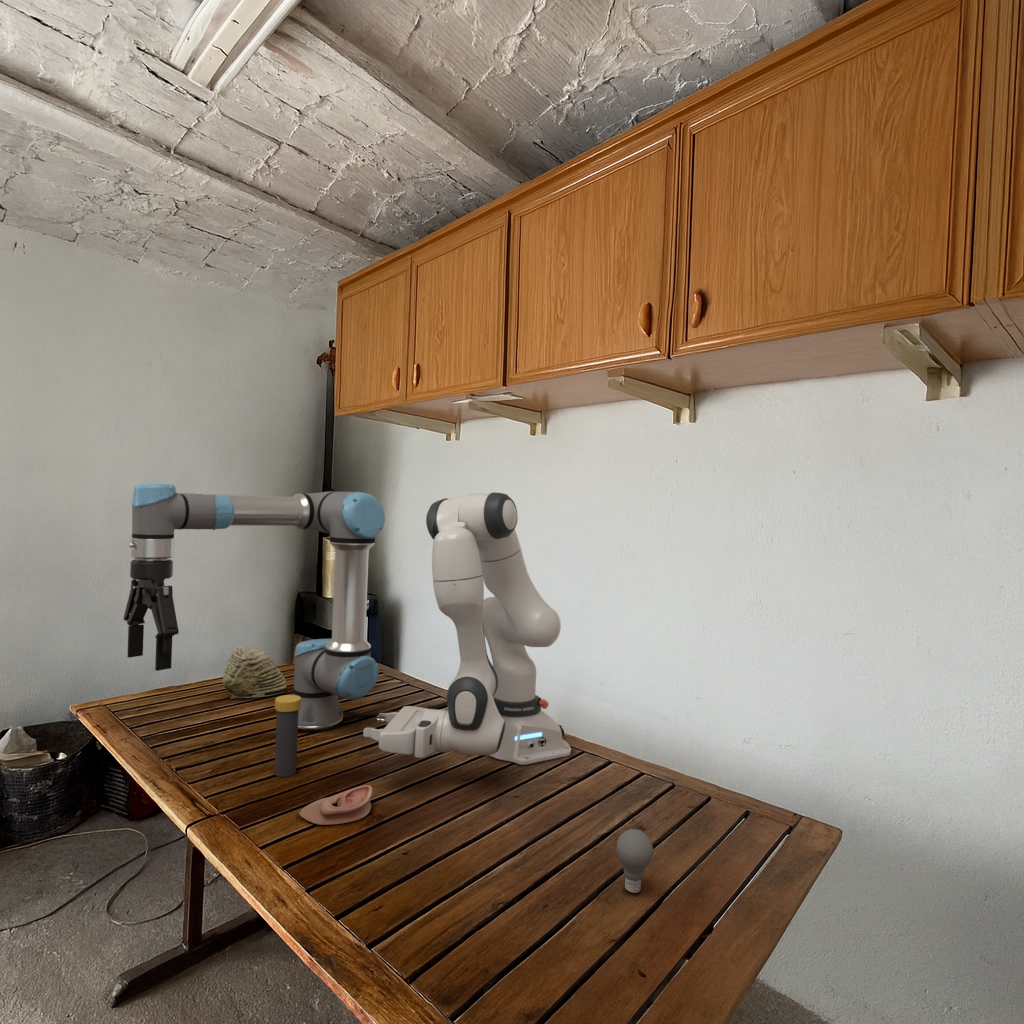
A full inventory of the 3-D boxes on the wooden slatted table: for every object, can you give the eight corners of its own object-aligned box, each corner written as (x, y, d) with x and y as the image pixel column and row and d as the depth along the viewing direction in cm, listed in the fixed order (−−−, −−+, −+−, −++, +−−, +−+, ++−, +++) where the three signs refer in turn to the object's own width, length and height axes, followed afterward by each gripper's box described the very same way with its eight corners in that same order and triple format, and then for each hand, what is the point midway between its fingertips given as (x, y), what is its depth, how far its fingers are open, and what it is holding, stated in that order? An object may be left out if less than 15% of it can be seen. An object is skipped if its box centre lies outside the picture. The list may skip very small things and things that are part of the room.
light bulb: (610, 879, 108) (613, 822, 108) (644, 879, 109) (647, 822, 109) (619, 902, 102) (622, 840, 102) (655, 901, 103) (658, 840, 103)
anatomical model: (291, 800, 123) (320, 775, 134) (290, 820, 123) (320, 794, 134) (354, 810, 120) (379, 784, 132) (353, 830, 121) (378, 803, 132)
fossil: (218, 695, 195) (220, 647, 195) (278, 685, 208) (279, 640, 207) (228, 703, 189) (230, 653, 188) (289, 692, 201) (290, 645, 201)
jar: (295, 767, 148) (298, 696, 147) (296, 775, 143) (299, 702, 143) (274, 769, 146) (277, 698, 146) (274, 777, 142) (277, 704, 141)
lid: (300, 703, 148) (300, 693, 148) (301, 711, 143) (301, 701, 143) (274, 705, 146) (275, 695, 146) (274, 713, 141) (275, 703, 141)
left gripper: (108, 554, 134) (104, 654, 134) (159, 565, 118) (155, 678, 119) (146, 552, 140) (143, 648, 140) (199, 563, 124) (195, 671, 124)
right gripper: (442, 702, 151) (385, 697, 153) (421, 731, 131) (356, 725, 132) (440, 728, 151) (384, 723, 153) (419, 761, 131) (355, 755, 132)
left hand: (148, 662), depth 129 cm, fingers open, 13 cm apart
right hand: (371, 724), depth 142 cm, fingers open, 8 cm apart
